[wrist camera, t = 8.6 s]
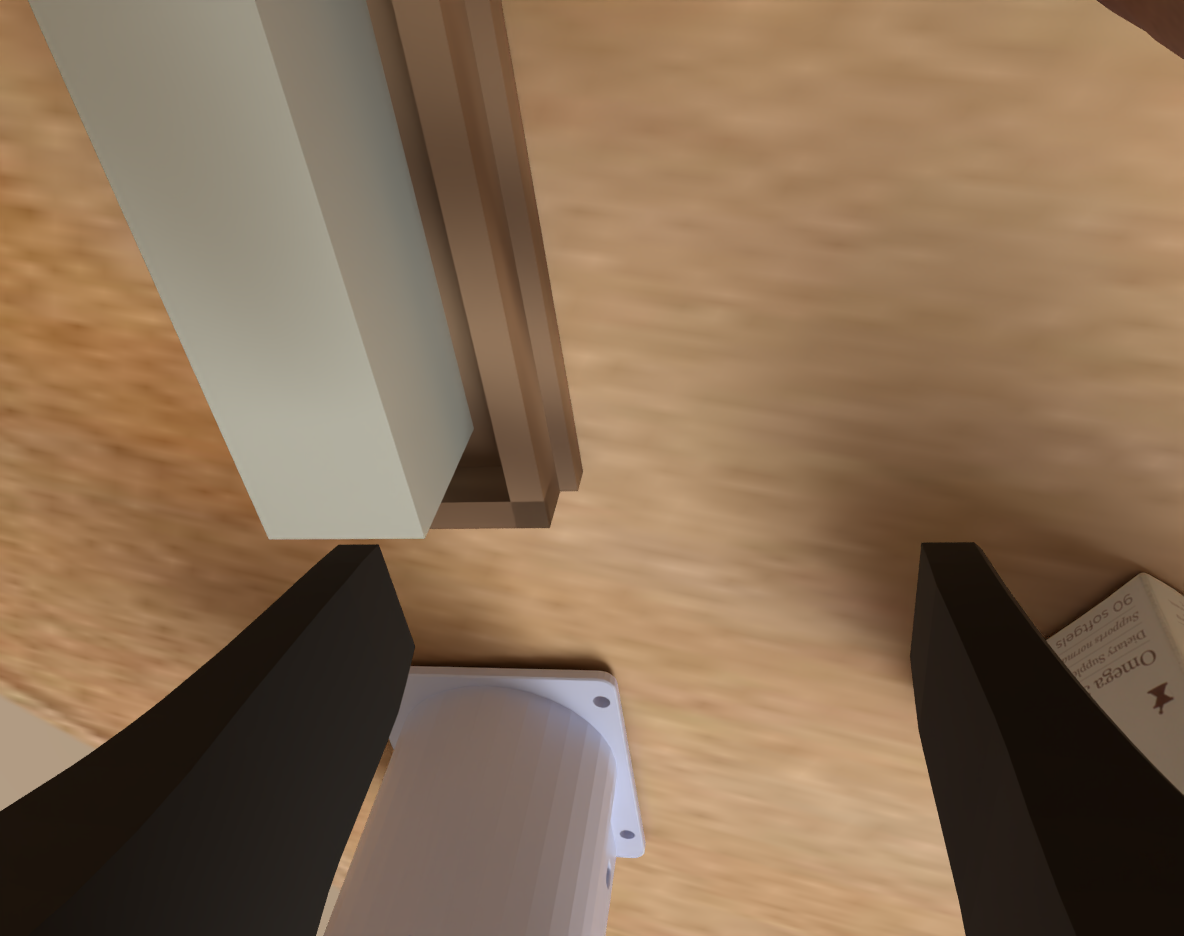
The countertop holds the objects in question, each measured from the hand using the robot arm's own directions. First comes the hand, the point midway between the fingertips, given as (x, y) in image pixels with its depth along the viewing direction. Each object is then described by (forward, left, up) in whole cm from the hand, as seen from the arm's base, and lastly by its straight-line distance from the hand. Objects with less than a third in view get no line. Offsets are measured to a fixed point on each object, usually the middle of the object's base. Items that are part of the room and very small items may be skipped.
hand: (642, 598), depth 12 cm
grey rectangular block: (+3, +7, -9) cm, 12 cm away
